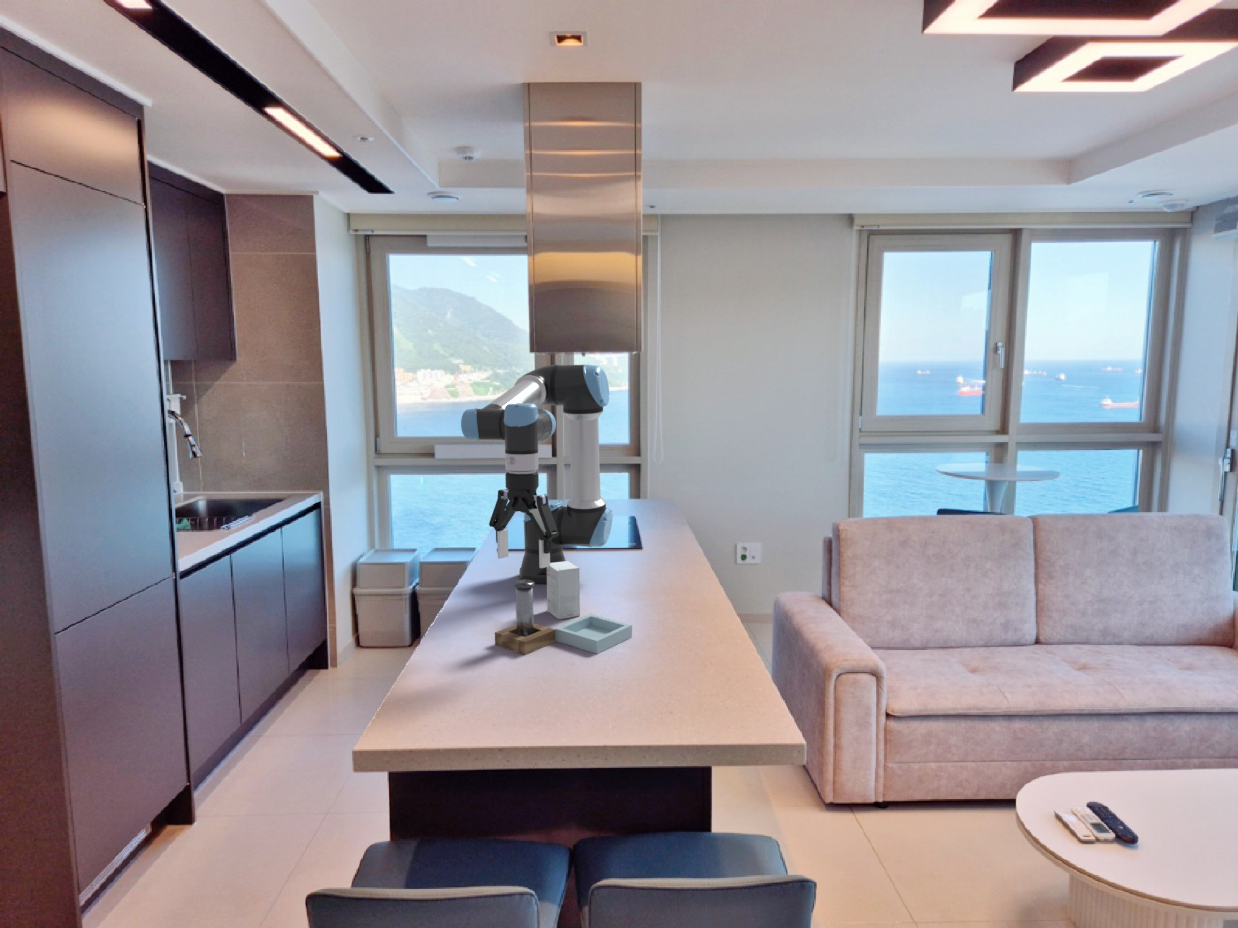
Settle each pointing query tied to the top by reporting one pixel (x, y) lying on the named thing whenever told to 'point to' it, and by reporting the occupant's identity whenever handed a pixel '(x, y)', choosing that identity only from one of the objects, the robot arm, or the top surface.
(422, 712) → the top surface
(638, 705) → the top surface
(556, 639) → the tray
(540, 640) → the socket block
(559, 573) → the small box
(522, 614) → the pin
